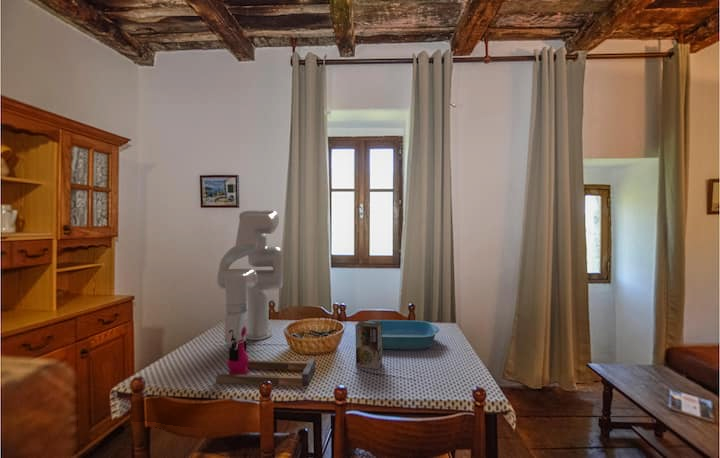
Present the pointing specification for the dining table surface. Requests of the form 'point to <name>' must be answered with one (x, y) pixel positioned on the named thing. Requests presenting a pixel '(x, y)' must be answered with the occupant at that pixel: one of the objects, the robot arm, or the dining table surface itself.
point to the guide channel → (275, 380)
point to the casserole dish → (407, 334)
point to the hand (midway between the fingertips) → (238, 355)
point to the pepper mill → (243, 361)
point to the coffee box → (368, 344)
